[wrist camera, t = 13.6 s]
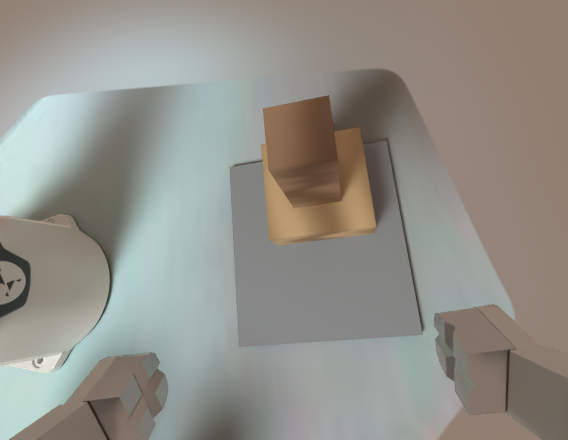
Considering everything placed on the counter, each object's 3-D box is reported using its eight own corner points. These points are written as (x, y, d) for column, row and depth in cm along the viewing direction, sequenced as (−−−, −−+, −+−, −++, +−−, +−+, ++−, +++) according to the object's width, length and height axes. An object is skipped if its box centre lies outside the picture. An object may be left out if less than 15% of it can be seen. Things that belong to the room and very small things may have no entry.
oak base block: (277, 245, 33) (268, 239, 29) (270, 160, 35) (261, 144, 32) (372, 233, 31) (376, 226, 28) (358, 145, 34) (359, 126, 30)
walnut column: (293, 208, 29) (268, 169, 20) (289, 164, 30) (262, 108, 21) (340, 201, 29) (337, 158, 19) (334, 157, 30) (328, 95, 20)
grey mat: (241, 345, 32) (239, 346, 32) (231, 169, 37) (229, 167, 36) (421, 333, 29) (422, 334, 29) (385, 142, 34) (386, 140, 33)
